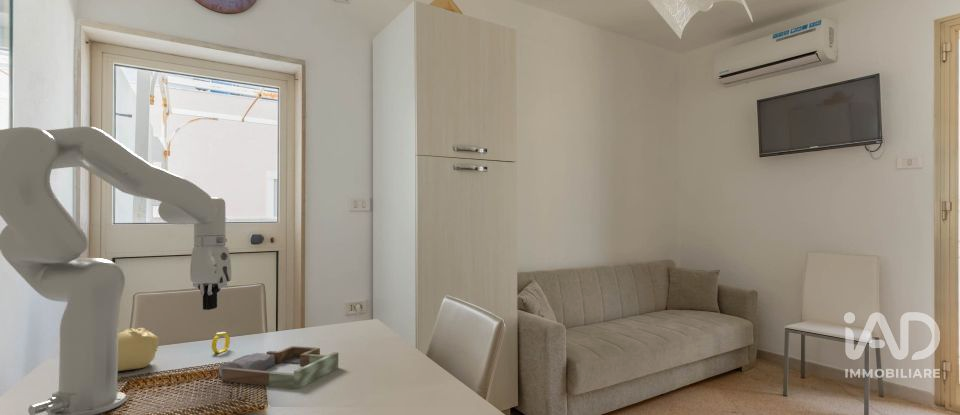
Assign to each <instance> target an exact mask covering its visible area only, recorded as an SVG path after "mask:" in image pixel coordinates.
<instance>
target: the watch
mask: <svg viewBox="0 0 960 415" xmlns="http://www.w3.org/2000/svg"><path fill="white" fill-rule="evenodd" d="M221 336H223V337H224V339H225V343H224V346H223V348H222V349H221V350H218V349H217V342H218V340H219V338H220V337H221ZM230 343H231V340H230V336H229V334H228V333H227V331H221V332H220V331H219V332H216V333H215V336H214V337H213V339H212V341H211V349H212V352H213V353H214V354H221V353H223V352H227V350H228V349H229V347H230Z"/></svg>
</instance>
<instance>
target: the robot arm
mask: <svg viewBox="0 0 960 415" xmlns="http://www.w3.org/2000/svg"><path fill="white" fill-rule="evenodd" d="M74 167H75V168H78V167H80V168H82V169H85V170H86V171H88V172H90V173H91V174H93V175H95V176H96V177H98V178H99V179H101V180H102V181H104V182H106V183H108V184H109V185H111V186H112V187H114V188H115V189H117V190H119V191H120V192H122V193H125V194H127V195H131V196H134V197H138V198H141V199H142V198H143V199H148V200H153V201H158V202H160V204H159V205H158V210H157V211H158V215H159V217H160V218H161V219H162V221H164V222H166V223H168V224H171V225H193V248H192V251H191V255H190V256H191V257H190V268H189V269H190V271H189V272H190V273H189V275H190V281H191V282H192V286H193V288H197V289H198V290H200V292H199V293H200V295H201V296H202V310H204V311H210V310H213V309H217V308H218V294H219V293H220V291H221V289H224V288H227V287H228V283H229V282H231V280H232V262H231V255H230V249H229V247H228V246H226V243H227V242H228V240H227V237H226V201H225V199H223V198H221V197H217V196H216V197H211V196H210V195H209V194H208V193H207V192H206V191H205V190H203V189H202V188H201V187H199V186H198V185H196V184H195V183H193V182H191V181H189V180H188V179H186V178H184V177H182V176H179V175H176V174H174V173H172V172H170V171H167V170H165V169H163V168H160V167H157V166H154V165H152V164H151V163H149V162H147V161H146V160H145V159H143V158H142V157H141V156H138V154H136V153H134V151H132V150H130V149H129V148H128V147H126V146H125V145H124V144H123V143H120V142H119V141H118V140H116V139H115V138H113V136H111V135H110V134H108V133H107V132H105V131H103V130H102V129H99V128H97V127H93V126H75V127H65V128H57V129H56V128H55V129H42V128H41V129H40V128H37V127H31V126H30V127H29V126H25V127H24V126H22V127H21V126H20V127H19V126H18V127H11V128H10V127H8V128H3V129H0V217H1V218H2V220H3V221H4V222H5V224H6V225H5V227H4V228H3V229H2V230H1V231H0V254H1V255H2V257H3V258H4V259H5V260H6V261H7V263H8V264H9V265H10V266H11V267H12V268H13V269H14V270H15V272H16V273H18V275H20V276H21V277H22V278H23V280H24V281H25V282H26V283H27V284H28V285H29V286H30V287H31V288H32V289H33V290H34V291H36V292H37V294H39V295H40V296H42V298H45V299H47V300H49V301H53V302H60V303H61V302H64V303H67V304H66V306H65V308H64V312H63V314H62V317H61V321H60V326H59V358H58V360H59V364H58V365H59V366H58V370H59V371H58V391H55V392H52V393H51V394H52V396H51V397H50V398H48V399H47V400H45V401H43V402H37V403H35V404H32V405H30V406H29V407H28V410H27V411H28V414H29V415H38V414H40V413H44V412H46V413H47V415H98V414H103V413H106V412H108V411H111V410H113V409H115V408H118V407H119V406H122V405H123V404H125V402H126V400H127V394H126V393H124V392H120V391H118V373H119V371H118V333H119V317H120V316H119V315H120V309H121V308H120V306H121V300H122V297H123V293H124V289H125V282H126V280H125V279H126V277H125V274H124V271H123V269H122V268H121V267H120V265H118V264H117V263H115V262H114V261H111V260H109V259H105V258H101V257H100V258H99V257H82V255H83V254H85V252H86V250H87V249H88V245H89V244H88V243H89V242H88V241H89V240H88V237H87V235H86V233H85V232H84V230H83V229H82V228H81V226H80V225H79V224H78V223H77V221H75V219H74V217H72V215H71V213H69V212H68V210H67V209H66V208H65V206H64V205H63V204H62V203H61V201H60V200H59V199H58V197H57V196H56V194H55V193H54V191H53V190H52V189H53V188H52V186H51V182H50V181H51V173H52V170H56V169H65V168H74Z"/></svg>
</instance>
